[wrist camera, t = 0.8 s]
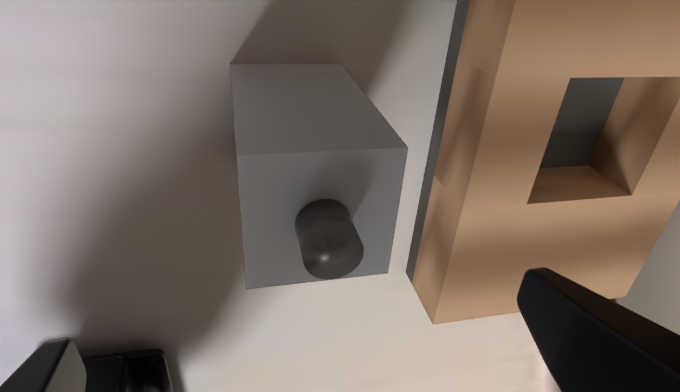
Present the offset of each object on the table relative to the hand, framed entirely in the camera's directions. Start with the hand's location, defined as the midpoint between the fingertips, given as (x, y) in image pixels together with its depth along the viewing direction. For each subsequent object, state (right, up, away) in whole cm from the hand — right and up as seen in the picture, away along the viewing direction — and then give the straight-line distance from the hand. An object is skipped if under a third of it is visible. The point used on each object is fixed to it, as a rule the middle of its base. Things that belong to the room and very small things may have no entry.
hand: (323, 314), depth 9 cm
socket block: (+11, +7, +13) cm, 18 cm away
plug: (-2, +6, +10) cm, 12 cm away
